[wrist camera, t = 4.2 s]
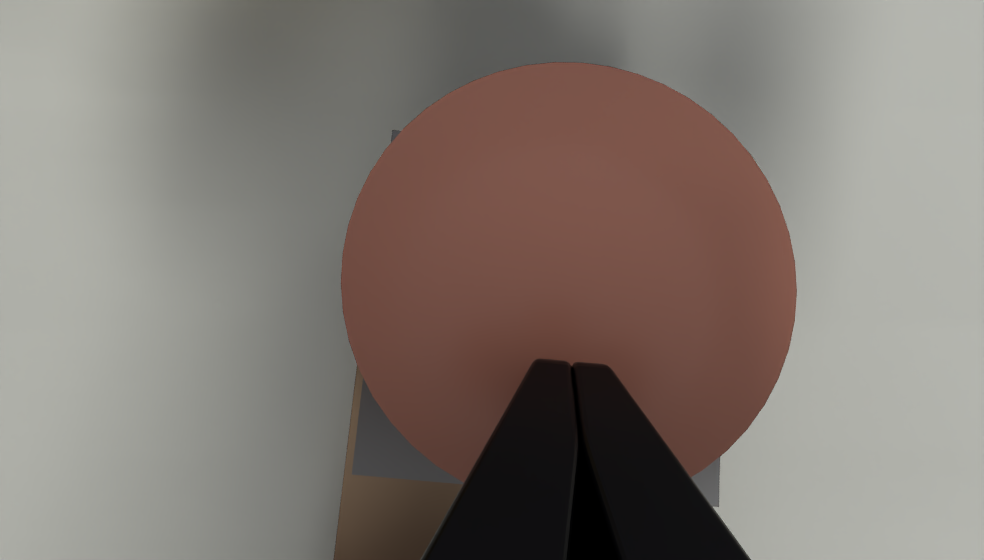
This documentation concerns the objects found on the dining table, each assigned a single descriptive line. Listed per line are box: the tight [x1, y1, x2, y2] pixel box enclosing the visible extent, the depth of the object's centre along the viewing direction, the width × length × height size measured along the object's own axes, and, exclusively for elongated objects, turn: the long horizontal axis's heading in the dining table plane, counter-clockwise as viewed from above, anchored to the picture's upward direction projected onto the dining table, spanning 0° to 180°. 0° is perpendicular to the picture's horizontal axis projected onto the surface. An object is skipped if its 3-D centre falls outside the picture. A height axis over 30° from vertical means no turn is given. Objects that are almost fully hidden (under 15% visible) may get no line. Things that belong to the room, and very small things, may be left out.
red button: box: [341, 62, 797, 482], centre depth 11 cm, size 6×6×5 cm
